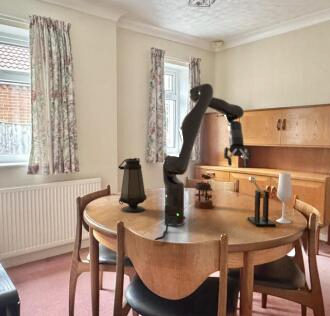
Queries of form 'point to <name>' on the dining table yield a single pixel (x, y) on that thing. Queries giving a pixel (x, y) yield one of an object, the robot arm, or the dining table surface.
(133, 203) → the lantern
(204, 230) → the dining table surface
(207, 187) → the dark brown tall piece
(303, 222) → the dining table surface
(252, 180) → the latch lever
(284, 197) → the champagne flute
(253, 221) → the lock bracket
